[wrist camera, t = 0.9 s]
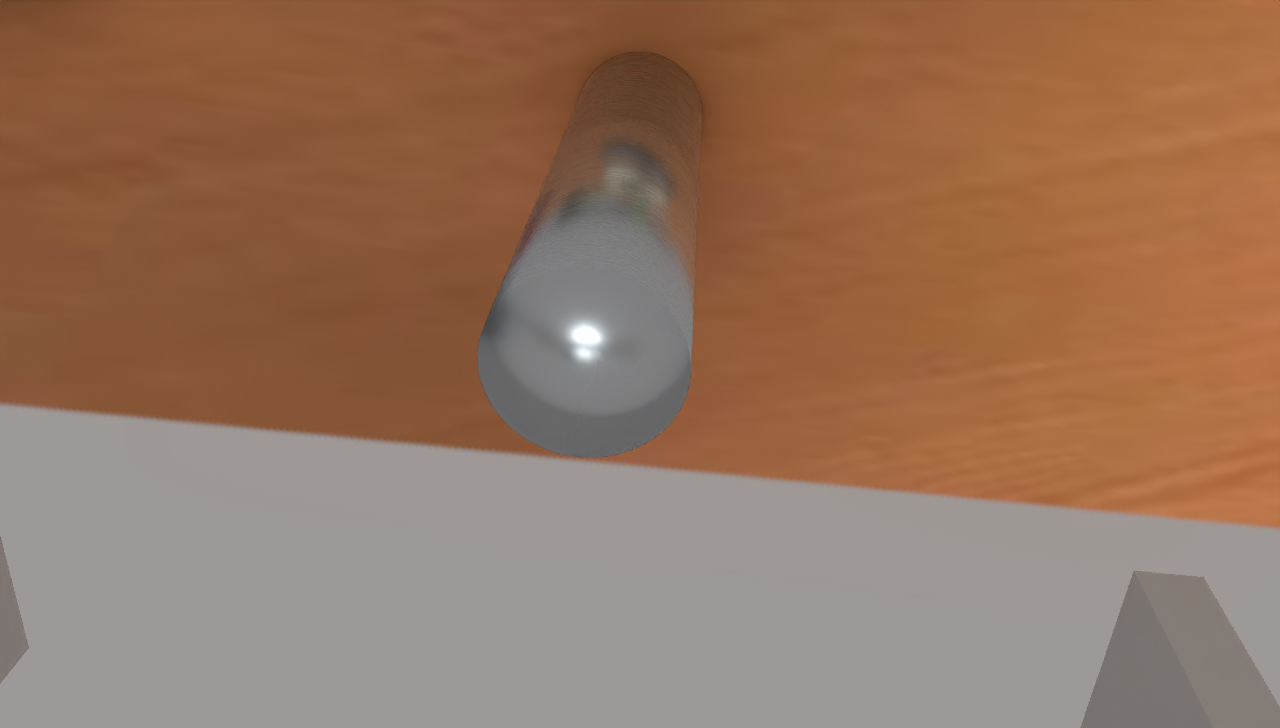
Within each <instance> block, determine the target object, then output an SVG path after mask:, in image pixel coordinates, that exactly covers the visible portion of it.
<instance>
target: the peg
mask: <svg viewBox="0 0 1280 728" xmlns="http://www.w3.org/2000/svg"><path fill="white" fill-rule="evenodd" d="M701 132H702V105H701V100H700V96H699V94H698V91H697V88H696V87H695V85H694V83H693V81H692V80H691V78H690V77H689V76H688V74H687V73H686V72H685V71H684V70H683V69H682V68H681V67H679V66H678V65H677V64H676V63H674V62H672V61H671V60H669V59H667V58H665V57H662V56H660V55H657V54H653V53H647V52H631V53H625V54H621V55H618V56H616V57H613V58H611V59H609V60H608V61H606V62H604V63H603V64H602V65H600V66H599V67H598V68H597V69H596V70H595V71H594V72H593V73H592V74H591V76H590V77H589V78H588V80H587V81H586V83H585V85H584V87H583V89H582V92H581V94H580V97H579V99H578V101H577V104H576V106H575V109H574V111H573V113H572V116H571V118H570V121H569V123H568V125H567V128H566V130H565V133H564V135H563V137H562V140H561V142H560V145H559V147H558V149H557V152H556V154H555V157H554V159H553V162H552V164H551V166H550V169H549V171H548V174H547V176H546V178H545V181H544V183H543V186H542V188H541V190H540V193H539V195H538V198H537V200H536V202H535V205H534V207H533V210H532V212H531V214H530V217H529V219H528V222H527V224H526V226H525V229H524V231H523V234H522V236H521V238H520V241H519V243H518V246H517V248H516V251H515V253H514V255H513V258H512V260H511V263H510V265H509V267H508V270H507V272H506V275H505V277H504V279H503V282H502V284H501V287H500V289H499V291H498V294H497V296H496V299H495V301H494V303H493V306H492V308H491V311H490V313H489V315H488V318H487V320H486V323H485V325H484V328H483V330H482V333H481V337H480V341H479V346H478V369H479V375H480V379H481V383H482V386H483V388H484V391H485V394H486V396H487V398H488V399H489V401H490V403H491V405H492V407H493V408H494V409H495V411H496V412H497V413H498V415H499V416H500V417H501V418H502V419H503V420H504V422H505V423H506V424H507V425H508V426H509V427H511V428H512V429H513V430H514V431H515V432H517V433H518V434H519V435H521V436H522V437H524V438H525V439H527V440H528V441H530V442H532V443H534V444H536V445H538V446H540V447H542V448H544V449H547V450H550V451H552V452H556V453H559V454H563V455H568V456H575V457H588V458H595V457H607V456H612V455H617V454H621V453H624V452H627V451H630V450H633V449H635V448H637V447H640V446H642V445H644V444H645V443H647V442H649V441H650V440H652V439H653V438H655V437H656V436H657V435H658V434H660V433H661V432H662V431H663V430H664V429H665V428H666V427H667V426H668V425H669V424H670V423H671V422H672V421H673V419H674V418H675V416H676V415H677V414H678V412H679V411H680V409H681V407H682V405H683V403H684V401H685V398H686V395H687V392H688V389H689V383H690V378H691V358H692V336H693V313H694V290H695V268H696V245H697V222H698V200H699V177H700V154H701Z"/></svg>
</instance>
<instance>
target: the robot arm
mask: <svg viewBox="0 0 1280 728" xmlns="http://www.w3.org/2000/svg"><path fill="white" fill-rule="evenodd" d="M28 647H29V646H28V643H27V639H26V635H25V631H24V627H23V623H22V619H21V615H20V611H19V608H18V604H17V600H16V596H15V592H14V588H13V584H12V580H11V576H10V572H9V569H8V565H7V561H6V557H5V553H4V549H3V545H2V541H1V537H0V683H1V682H2V681H3V679H4V678H5V677H6V676H7V674H8V673H9V672H10V671H11V669H12V668H13V667H14V666H15V664H16V663H17V662H18V660H19V659H20V658H21V657H22V655H23V654H24V653H25V652H26V650H27V649H28ZM1081 728H1280V707H1279V705H1278V703H1277V702H1276V700H1275V698H1274V696H1273V695H1272V693H1271V691H1270V690H1269V688H1268V686H1267V684H1266V683H1265V681H1264V679H1263V678H1262V676H1261V674H1260V673H1259V671H1258V669H1257V667H1256V666H1255V664H1254V662H1253V661H1252V659H1251V657H1250V656H1249V654H1248V652H1247V650H1246V649H1245V647H1244V645H1243V644H1242V642H1241V640H1240V639H1239V637H1238V635H1237V633H1236V632H1235V630H1234V629H1233V627H1232V625H1231V623H1230V622H1229V620H1228V618H1227V617H1226V615H1225V613H1224V611H1223V610H1222V608H1221V606H1220V605H1219V603H1218V601H1217V599H1216V598H1215V596H1214V594H1213V593H1212V591H1211V589H1210V588H1209V586H1208V584H1207V582H1206V581H1205V579H1204V577H1196V576H1185V575H1174V574H1163V573H1152V572H1141V571H1134V572H1133V575H1132V578H1131V581H1130V584H1129V587H1128V590H1127V593H1126V596H1125V599H1124V602H1123V605H1122V607H1121V610H1120V613H1119V616H1118V619H1117V622H1116V625H1115V628H1114V631H1113V634H1112V637H1111V640H1110V643H1109V645H1108V649H1107V652H1106V655H1105V657H1104V660H1103V663H1102V666H1101V670H1100V672H1099V675H1098V678H1097V681H1096V684H1095V687H1094V690H1093V692H1092V695H1091V698H1090V702H1089V704H1088V707H1087V710H1086V713H1085V716H1084V719H1083V722H1082V725H1081Z"/></svg>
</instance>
